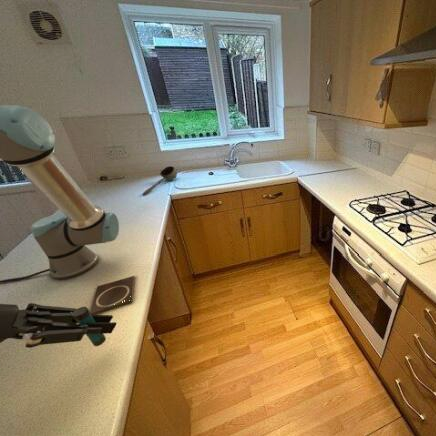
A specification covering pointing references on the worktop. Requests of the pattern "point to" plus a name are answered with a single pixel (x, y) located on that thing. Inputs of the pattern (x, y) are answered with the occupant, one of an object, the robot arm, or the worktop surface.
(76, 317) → the marker
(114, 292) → the induction cooktop
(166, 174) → the ladle
